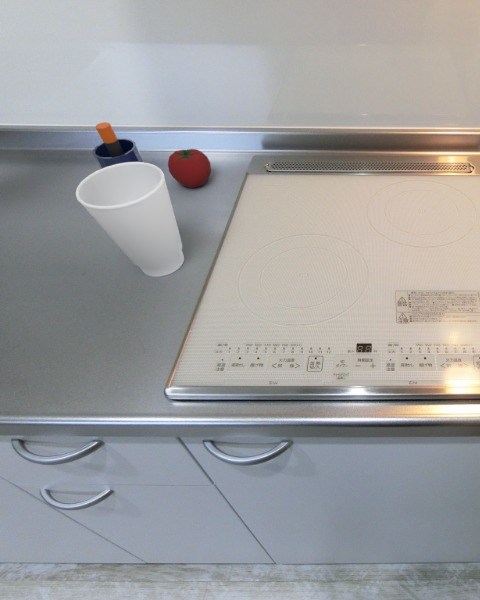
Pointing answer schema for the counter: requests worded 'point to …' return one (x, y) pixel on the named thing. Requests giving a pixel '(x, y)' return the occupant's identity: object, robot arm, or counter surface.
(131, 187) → the cup
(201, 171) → the tomato
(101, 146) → the pen pot
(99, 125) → the marker
